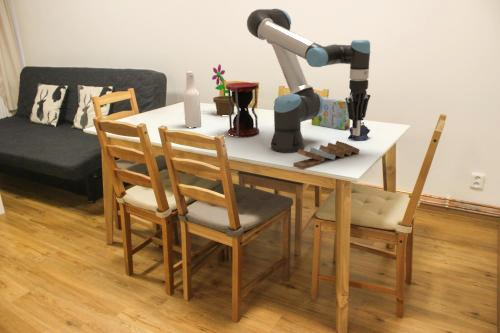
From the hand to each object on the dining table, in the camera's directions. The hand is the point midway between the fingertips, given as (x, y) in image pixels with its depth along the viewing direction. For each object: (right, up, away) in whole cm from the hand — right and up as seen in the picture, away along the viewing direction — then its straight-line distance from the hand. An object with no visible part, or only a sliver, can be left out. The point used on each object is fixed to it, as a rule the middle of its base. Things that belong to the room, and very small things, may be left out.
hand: (356, 135), depth 188 cm
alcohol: (-76, +8, +56) cm, 95 cm away
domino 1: (-16, -10, -8) cm, 21 cm away
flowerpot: (-60, +19, +84) cm, 105 cm away
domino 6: (0, -6, +2) cm, 7 cm away
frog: (+7, 0, +23) cm, 24 cm away
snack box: (-2, +8, +47) cm, 48 cm away
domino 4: (-8, -8, -3) cm, 12 cm away
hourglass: (-49, +3, +39) cm, 62 cm away
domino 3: (-12, -9, -5) cm, 16 cm away
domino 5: (-4, -7, -1) cm, 8 cm away
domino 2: (-18, -12, -9) cm, 24 cm away
